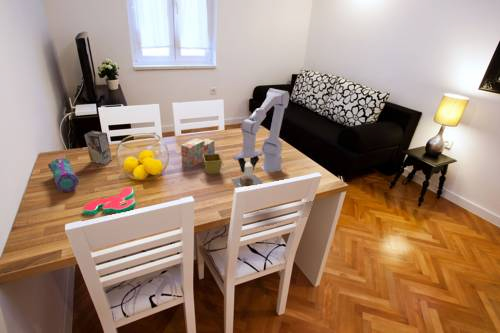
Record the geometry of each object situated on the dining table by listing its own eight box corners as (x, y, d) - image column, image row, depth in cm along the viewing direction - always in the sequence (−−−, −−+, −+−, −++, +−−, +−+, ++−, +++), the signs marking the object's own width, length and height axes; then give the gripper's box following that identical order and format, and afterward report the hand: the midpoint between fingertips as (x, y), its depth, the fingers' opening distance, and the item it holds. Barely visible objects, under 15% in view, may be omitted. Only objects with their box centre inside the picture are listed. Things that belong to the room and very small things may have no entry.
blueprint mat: (254, 175, 149) (254, 174, 148) (267, 188, 138) (267, 187, 138) (230, 180, 143) (230, 179, 143) (242, 194, 132) (242, 193, 132)
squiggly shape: (132, 190, 130) (132, 186, 129) (137, 210, 117) (137, 205, 116) (83, 200, 121) (82, 195, 120) (83, 222, 109) (82, 217, 108)
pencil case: (51, 175, 136) (45, 158, 131) (71, 171, 141) (67, 154, 137) (59, 195, 122) (53, 176, 118) (81, 189, 127) (77, 171, 123)
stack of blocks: (206, 152, 171) (206, 133, 165) (214, 154, 168) (214, 135, 162) (181, 164, 154) (180, 144, 148) (190, 168, 152) (189, 147, 146)
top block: (248, 170, 138) (249, 161, 136) (252, 174, 135) (253, 165, 133) (240, 172, 137) (241, 163, 134) (244, 176, 133) (245, 167, 131)
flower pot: (205, 177, 144) (204, 161, 140) (202, 169, 151) (202, 154, 147) (221, 175, 146) (222, 160, 142) (218, 167, 154) (219, 153, 149)
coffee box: (112, 159, 154) (107, 132, 147) (104, 164, 149) (99, 137, 141) (98, 157, 156) (92, 130, 148) (90, 162, 150) (83, 134, 143)
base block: (248, 181, 141) (248, 175, 140) (253, 186, 138) (253, 179, 136) (239, 183, 139) (239, 176, 137) (243, 188, 135) (244, 181, 134)
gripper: (258, 140, 134) (256, 164, 141) (231, 143, 128) (230, 169, 135) (265, 145, 129) (263, 171, 135) (237, 149, 123) (236, 176, 129)
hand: (247, 170), depth 135 cm, fingers closed on top block, 4 cm apart
